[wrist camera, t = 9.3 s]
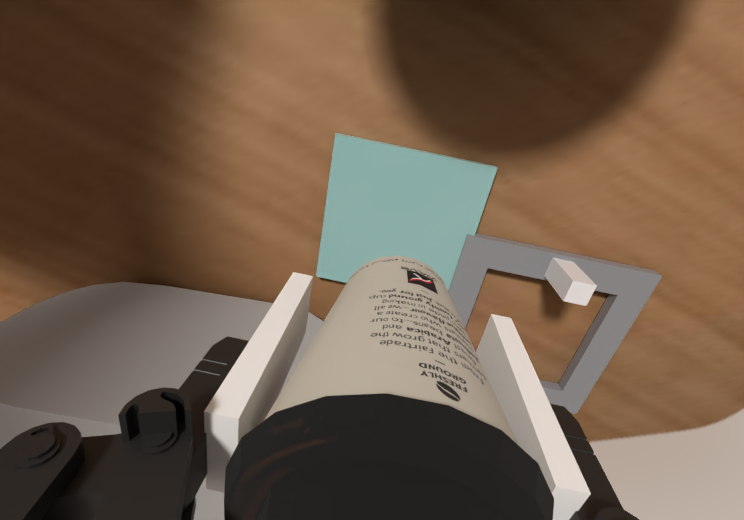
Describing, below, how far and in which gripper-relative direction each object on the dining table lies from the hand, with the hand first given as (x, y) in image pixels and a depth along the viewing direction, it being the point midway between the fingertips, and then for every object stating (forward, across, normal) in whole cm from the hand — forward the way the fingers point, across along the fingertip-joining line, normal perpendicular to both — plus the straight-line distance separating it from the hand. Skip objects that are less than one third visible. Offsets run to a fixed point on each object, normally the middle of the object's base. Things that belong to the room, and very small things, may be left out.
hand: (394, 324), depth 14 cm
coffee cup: (+2, 0, 0) cm, 2 cm away
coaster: (+11, 0, 0) cm, 11 cm away
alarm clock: (+12, -12, -13) cm, 21 cm away
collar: (+12, +11, -6) cm, 17 cm away
